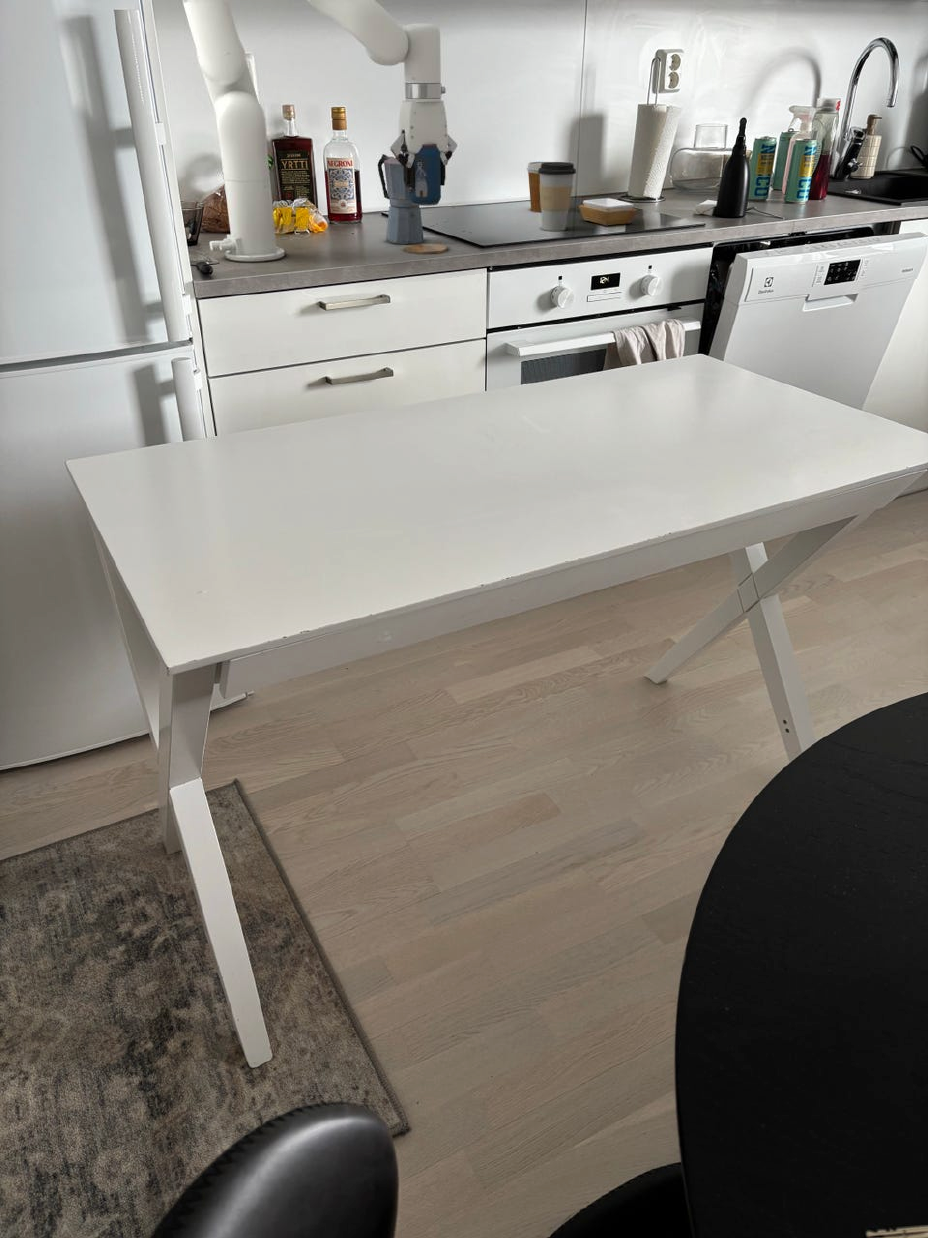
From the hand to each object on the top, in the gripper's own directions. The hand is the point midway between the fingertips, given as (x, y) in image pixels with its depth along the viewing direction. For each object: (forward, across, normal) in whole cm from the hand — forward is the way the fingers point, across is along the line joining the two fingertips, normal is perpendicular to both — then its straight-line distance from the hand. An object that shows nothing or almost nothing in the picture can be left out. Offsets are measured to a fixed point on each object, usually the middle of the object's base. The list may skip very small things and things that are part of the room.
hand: (424, 185), depth 204 cm
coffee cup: (+14, -42, -8) cm, 45 cm away
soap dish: (+14, -60, -8) cm, 62 cm away
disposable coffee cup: (+14, -58, -34) cm, 69 cm away
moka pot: (+14, -1, -12) cm, 19 cm away
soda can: (+4, 0, 0) cm, 4 cm away
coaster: (+13, 0, 0) cm, 13 cm away
